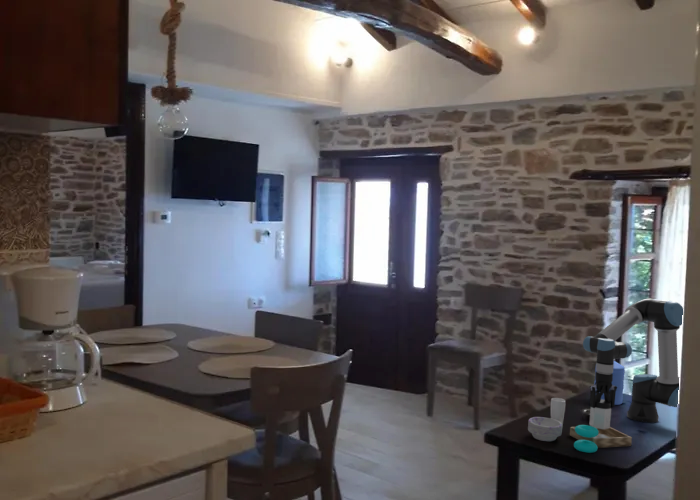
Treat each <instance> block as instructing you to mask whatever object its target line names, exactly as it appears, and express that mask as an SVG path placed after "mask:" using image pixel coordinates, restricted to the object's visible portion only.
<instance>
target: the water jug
mask: <svg viewBox="0 0 700 500" xmlns="http://www.w3.org/2000/svg"><path fill="white" fill-rule="evenodd" d="M625 370H626V369H625V365H622V364H621V363H619V362H617V361H616V360H614V366H613V373H612V374H613V381H612V385H614V386H616V387H617V389H616V393H615V403H614V406H619V405H622V404H623V402H624V400H623V396H624V388H625V385H624V384H625V383H624V381H625V373H626V372H625ZM594 371H595V373H594V375H596V372H597V371H596V366H595V369H594ZM593 382H594V383H593V386H594V385H595V383H596V380H595V379H594V381H593ZM596 390H597V389H596ZM601 399H602V400H605V399H604V393H603V395H602V396H601Z"/></svg>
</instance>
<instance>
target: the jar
mask: <svg viewBox="0 0 700 500" xmlns="http://www.w3.org/2000/svg"><path fill="white" fill-rule="evenodd" d="M610 407H611V402H607V401H605V400H602V399H601V400H600V402H597V401H596V403H595V408H593V407H590V412H589V413H590V414H589V426H593V427H595V428H598V429H609V428H610V427H611V418H612V409H611V408H610Z"/></svg>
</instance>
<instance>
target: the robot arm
mask: <svg viewBox="0 0 700 500" xmlns="http://www.w3.org/2000/svg"><path fill="white" fill-rule="evenodd" d="M683 309H684V306H682V304H680V303H679V302H677V301H673V300H667V299H656V298H644V299H641V300H638V301H636V302H635V303H632V304H631V305H630V306H628V307H626V309H625V310H624V313H622V314H621V315H620V316H618V317H617V318H616V319H614V320H613V322H611V323H610V324H608V325H607V326H606V327H604V329H602V330H601V331H599V332H598V333H597V334H596V335H595V336H591V335H590V336H589V335H588V336H586V337H585V338H584V339H583V343H582V347H583V349H584V350H585V351H586V352H590V353H591V354H596V361H595V362H596V363H595V367H596V371H597V372H596V375H595V374H594V375H595V376H594V381H595V380H596V383H595V385H594V384H593V385H589V391H590V396H589V400H590V401H589V406H590V408H591V407H593V408H595V403H596V401H597V402H600V400H601V396H602V395H603V393H604V399H605V401H607V402H611V407H610V408H611V410H612V409H613V408H615V405H614V403H615V393H616V389H617V387H616V386H614V385H612V381H613V374H612V373H613V366H614V361H615V360H617V359H625V358H629V357H630V356H631V355H632V352H633V351H632V350H633V349H632V346H631V344H630V343H628V342H627V341H616V340H619V338H620V337H621V336H623V335H624V334H626V333H627V332H628V331H629V330H630V329H631V328H632V327H635V325H639V324H641V323H644V322H651V323H653V327H654V329H655V330H656V331H657V348H658V349H657V350H658V372H659V373H658V374H659V375H656V374H650V373H649V374H647V373H643V374H641V373H640V374H635V375H634V376H633V377H632V378H633V379H632V382H631V383H632V389H631V403H630V406H629V407H628V410H627V411H626V417H627V418H628V419H631V420H633V421H635V422H642V423H657V422H659V419H660V418H659V414H658V410H657V409H658V408H657V406H656V404H661V405H665V406H667V407H673V408H678V407H677V404H678V390H679V378H680V377H679V367H678V365H679V363H678V341H677V340H678V338H677V336H678V335H677V331H678V330H679V329H680V328H681V326H682V325H683V324H682V315H683ZM596 389H597V390H596Z"/></svg>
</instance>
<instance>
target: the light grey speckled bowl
mask: <svg viewBox="0 0 700 500" xmlns="http://www.w3.org/2000/svg"><path fill="white" fill-rule="evenodd" d="M527 424H528V426H527V430H528V432H529V433H530V434H531V435H532V438H534V439H535V440H538V441H542V442H554V441H556V439H557V438H558V437H561V436H562V433H563V426H562V423H561V422H559V421H557V420H555V419H551V417H543V416H533V417H529V419H528V423H527Z"/></svg>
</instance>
